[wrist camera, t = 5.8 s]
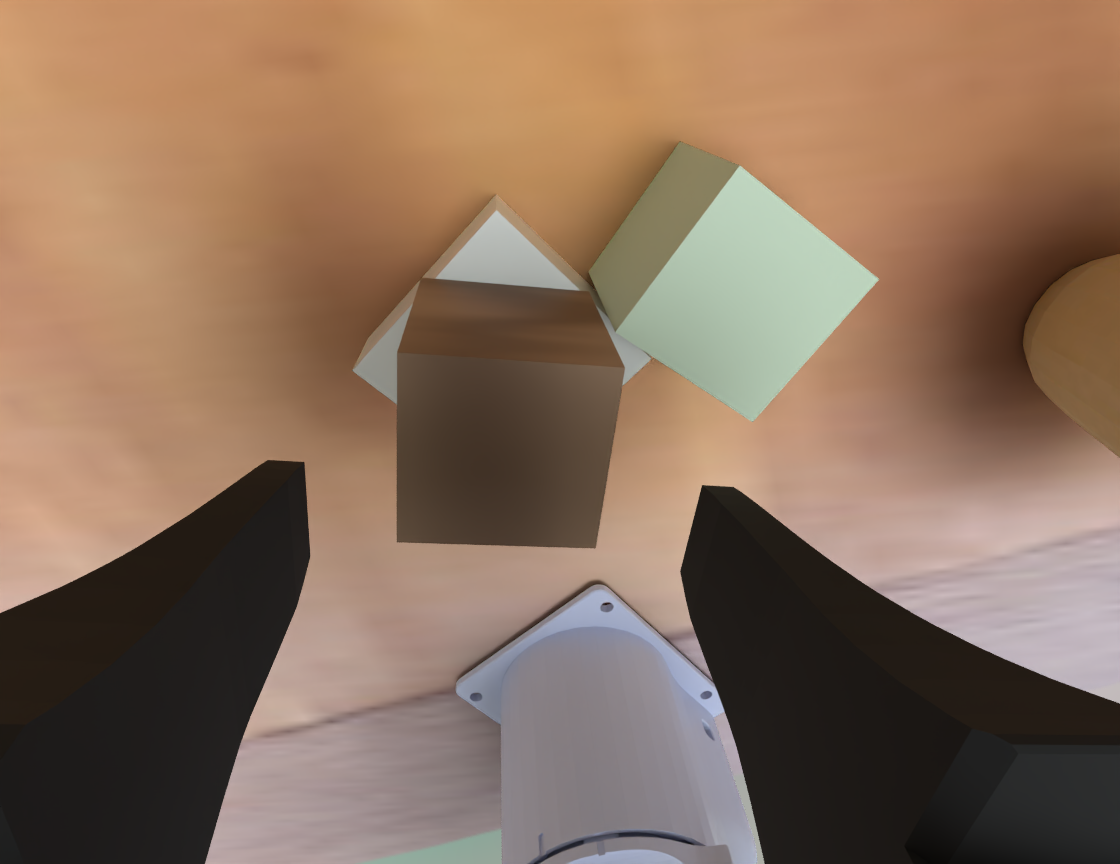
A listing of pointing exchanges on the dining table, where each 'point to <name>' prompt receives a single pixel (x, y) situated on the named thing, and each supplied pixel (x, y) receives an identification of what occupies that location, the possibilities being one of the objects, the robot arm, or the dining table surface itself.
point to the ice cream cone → (1080, 347)
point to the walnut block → (504, 415)
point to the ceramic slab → (488, 257)
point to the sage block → (724, 280)
